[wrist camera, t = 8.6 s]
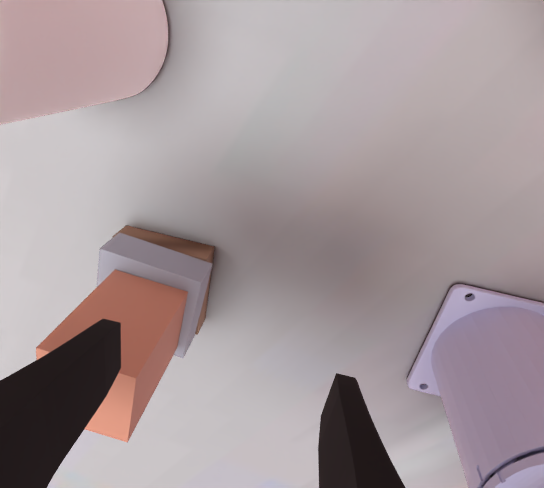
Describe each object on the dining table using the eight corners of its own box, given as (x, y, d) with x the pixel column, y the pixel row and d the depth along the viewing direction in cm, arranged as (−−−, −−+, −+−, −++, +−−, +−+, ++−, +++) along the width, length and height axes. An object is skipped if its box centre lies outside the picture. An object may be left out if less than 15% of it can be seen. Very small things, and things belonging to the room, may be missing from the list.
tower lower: (216, 243, 23) (206, 259, 21) (207, 315, 26) (197, 334, 24) (129, 222, 23) (112, 236, 22) (128, 295, 26) (113, 313, 24)
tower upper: (212, 263, 21) (201, 282, 20) (194, 335, 24) (183, 358, 22) (119, 232, 21) (99, 248, 20) (111, 307, 24) (93, 327, 22)
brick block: (188, 291, 20) (136, 378, 15) (177, 347, 22) (127, 442, 16) (114, 269, 20) (36, 347, 15) (110, 327, 22) (38, 415, 16)
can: (109, 123, 20) (-141, 200, 10) (16, 7, 18) (-420, -57, 8) (199, 44, 18) (2, 31, 7) (104, -98, 16) (-348, -395, 5)
